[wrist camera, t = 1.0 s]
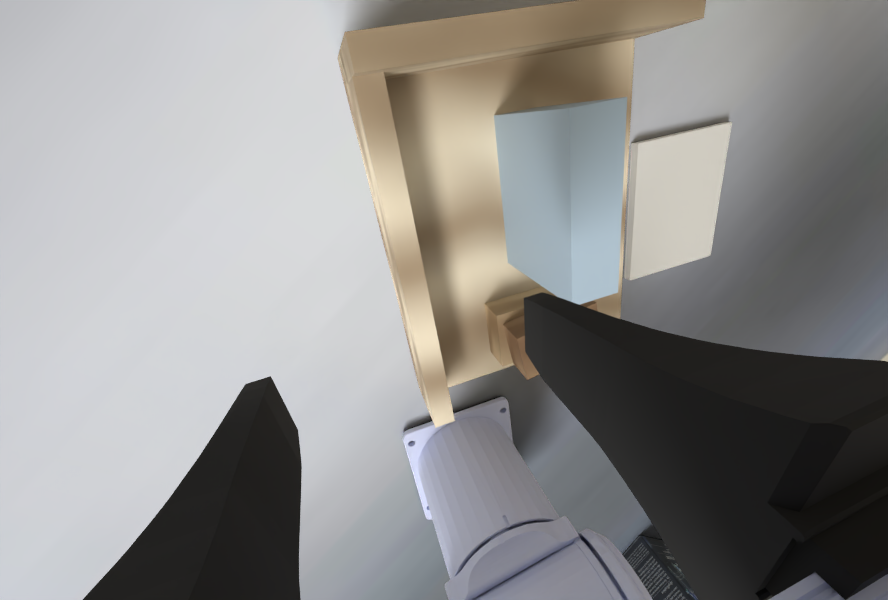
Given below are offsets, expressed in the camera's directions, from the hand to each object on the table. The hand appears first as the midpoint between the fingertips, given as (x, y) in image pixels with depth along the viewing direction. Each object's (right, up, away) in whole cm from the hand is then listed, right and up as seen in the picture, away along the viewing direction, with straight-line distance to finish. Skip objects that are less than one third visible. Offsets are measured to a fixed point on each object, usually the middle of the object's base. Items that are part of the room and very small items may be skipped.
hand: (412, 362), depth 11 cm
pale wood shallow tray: (+5, +6, +12) cm, 14 cm away
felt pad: (+16, +8, +15) cm, 24 cm away
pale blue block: (+5, +8, +10) cm, 14 cm away
